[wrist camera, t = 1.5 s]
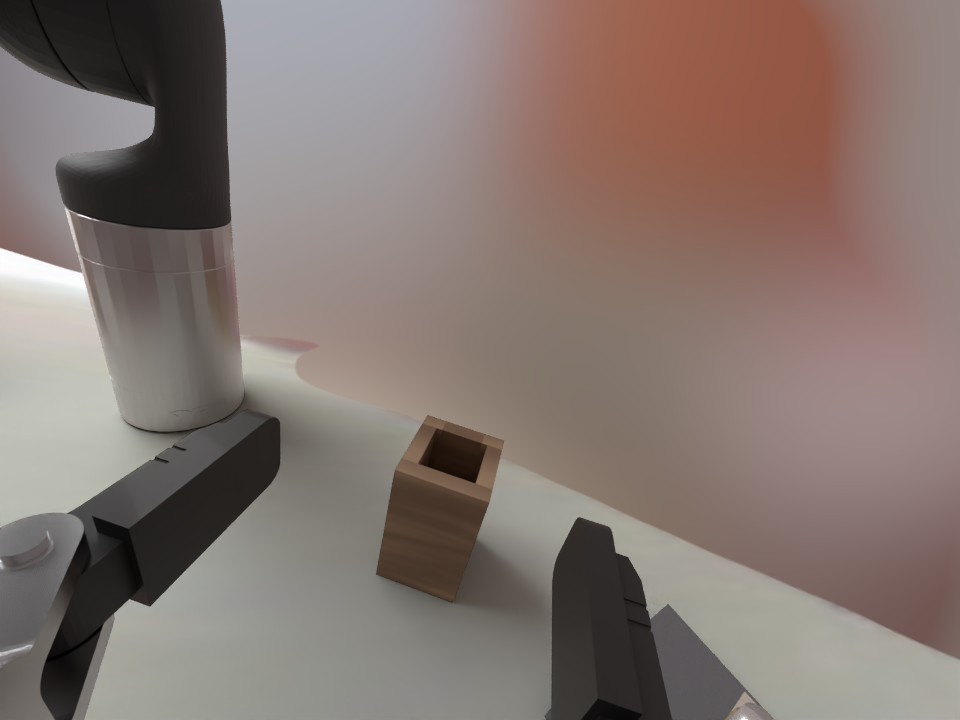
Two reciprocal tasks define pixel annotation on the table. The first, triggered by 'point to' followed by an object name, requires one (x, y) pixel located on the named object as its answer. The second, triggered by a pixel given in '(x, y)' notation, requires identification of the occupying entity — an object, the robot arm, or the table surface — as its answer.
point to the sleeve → (438, 506)
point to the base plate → (697, 676)
